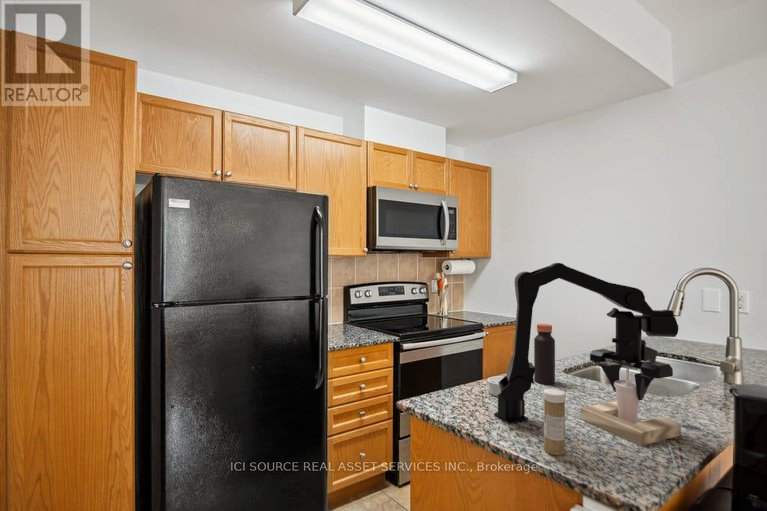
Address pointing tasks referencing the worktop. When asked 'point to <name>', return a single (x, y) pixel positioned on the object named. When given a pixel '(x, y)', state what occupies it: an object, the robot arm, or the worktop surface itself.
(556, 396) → the sprinkles bottle
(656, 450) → the worktop surface
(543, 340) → the vinegar
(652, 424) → the slot board
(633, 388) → the smoothie
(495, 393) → the ramekin
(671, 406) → the worktop surface
